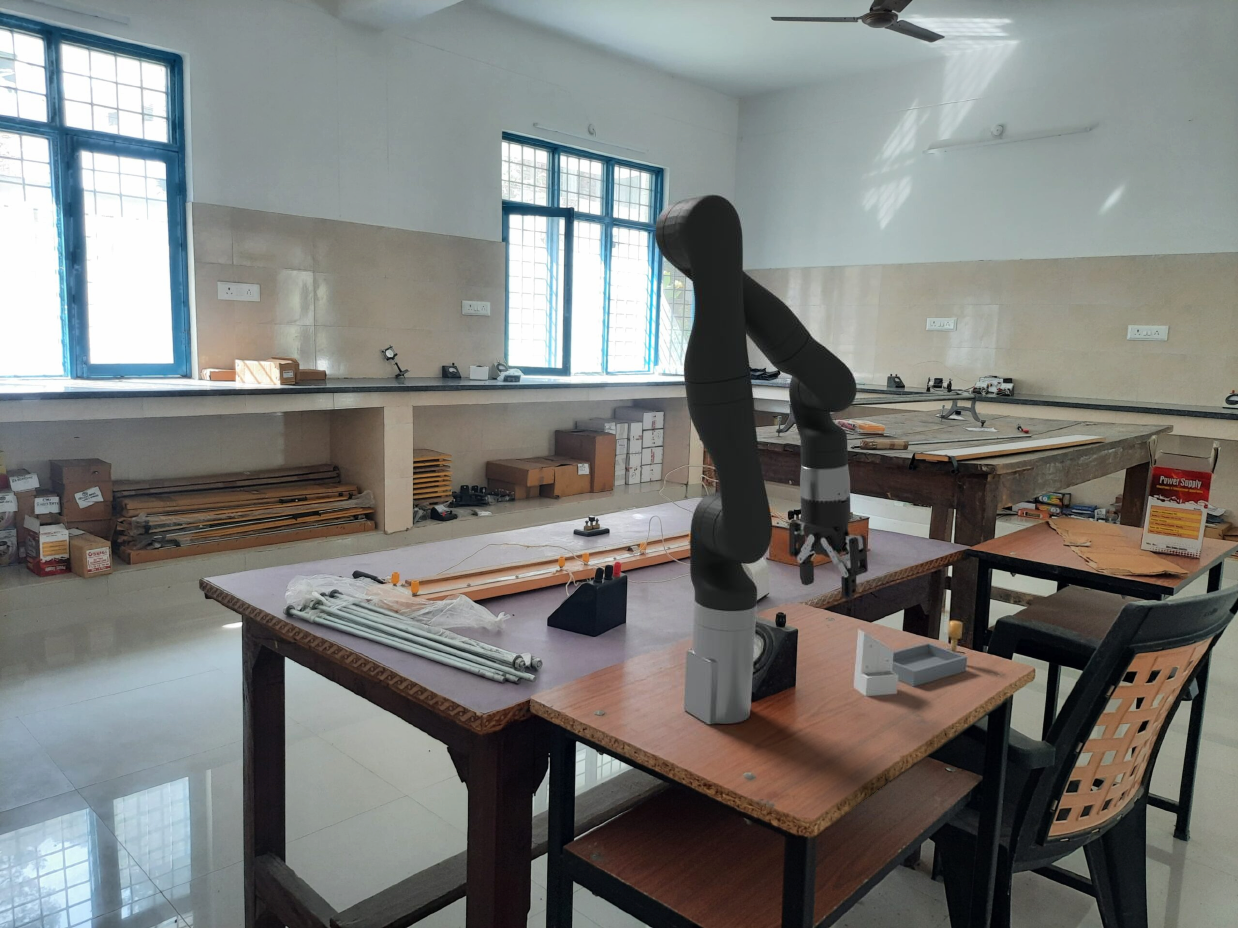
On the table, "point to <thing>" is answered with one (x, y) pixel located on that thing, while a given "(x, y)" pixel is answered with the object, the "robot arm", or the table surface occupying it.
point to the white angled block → (874, 667)
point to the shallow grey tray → (929, 660)
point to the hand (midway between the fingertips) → (827, 590)
